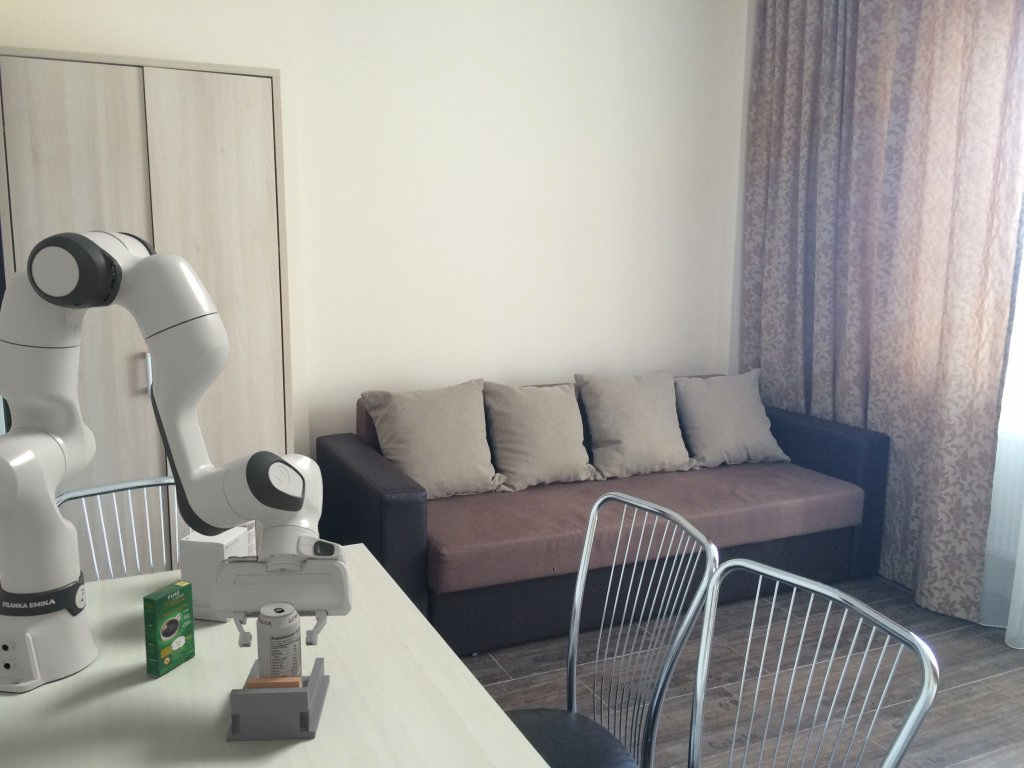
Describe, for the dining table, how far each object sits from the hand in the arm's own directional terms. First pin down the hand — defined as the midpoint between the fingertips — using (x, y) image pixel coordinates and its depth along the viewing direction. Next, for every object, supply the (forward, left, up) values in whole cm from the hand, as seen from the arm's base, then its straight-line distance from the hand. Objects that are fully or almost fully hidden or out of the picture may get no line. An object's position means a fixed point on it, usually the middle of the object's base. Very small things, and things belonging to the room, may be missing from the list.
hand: (277, 645), depth 121 cm
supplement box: (-18, +35, -11) cm, 40 cm away
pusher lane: (0, +1, -10) cm, 10 cm away
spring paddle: (0, -4, -9) cm, 10 cm away
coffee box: (-20, +15, -11) cm, 27 cm away
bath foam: (-18, +51, -11) cm, 55 cm away
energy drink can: (0, 0, -10) cm, 10 cm away
